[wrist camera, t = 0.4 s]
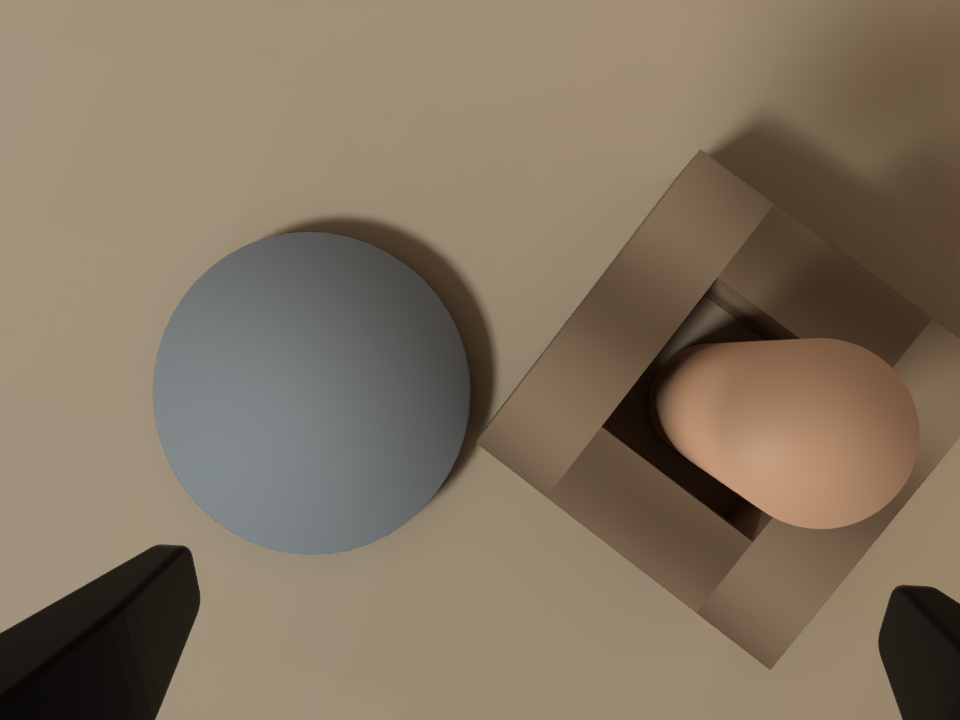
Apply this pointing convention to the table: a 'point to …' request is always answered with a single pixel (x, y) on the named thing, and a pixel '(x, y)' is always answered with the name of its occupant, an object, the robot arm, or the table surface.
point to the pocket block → (636, 342)
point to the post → (791, 425)
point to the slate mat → (311, 393)
